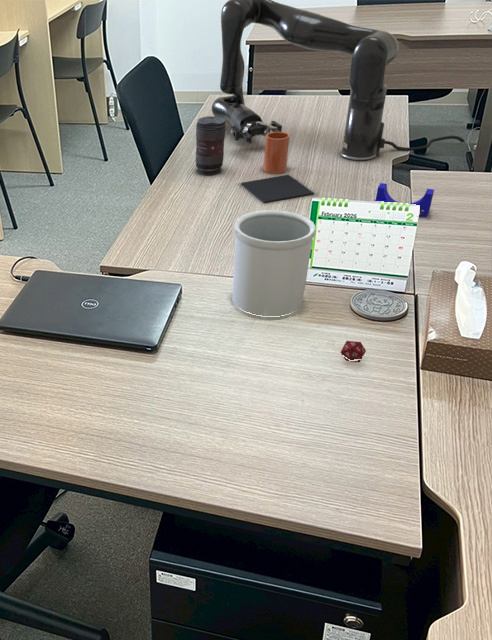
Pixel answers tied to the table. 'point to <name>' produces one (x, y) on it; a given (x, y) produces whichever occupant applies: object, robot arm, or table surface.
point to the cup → (276, 152)
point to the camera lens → (210, 144)
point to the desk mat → (276, 188)
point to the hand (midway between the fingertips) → (264, 138)
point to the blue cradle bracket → (423, 202)
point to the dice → (353, 350)
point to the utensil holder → (271, 263)
